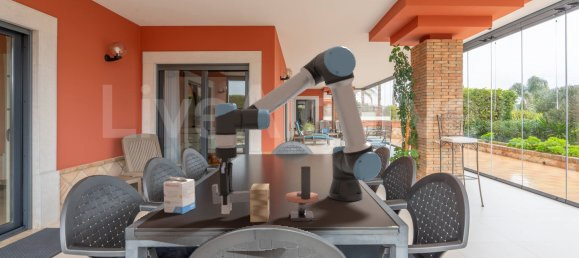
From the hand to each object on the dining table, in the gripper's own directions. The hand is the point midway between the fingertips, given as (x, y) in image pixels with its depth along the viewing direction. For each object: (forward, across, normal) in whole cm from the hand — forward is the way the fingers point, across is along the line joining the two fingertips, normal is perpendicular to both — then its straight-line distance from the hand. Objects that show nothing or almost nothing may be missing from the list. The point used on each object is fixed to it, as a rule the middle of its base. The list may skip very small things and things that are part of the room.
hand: (226, 211), depth 116 cm
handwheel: (-5, 0, +27) cm, 27 cm away
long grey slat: (-4, 0, +4) cm, 5 cm away
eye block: (+2, 0, +12) cm, 12 cm away
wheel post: (+2, 0, +27) cm, 27 cm away
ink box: (+2, -10, -20) cm, 22 cm away
